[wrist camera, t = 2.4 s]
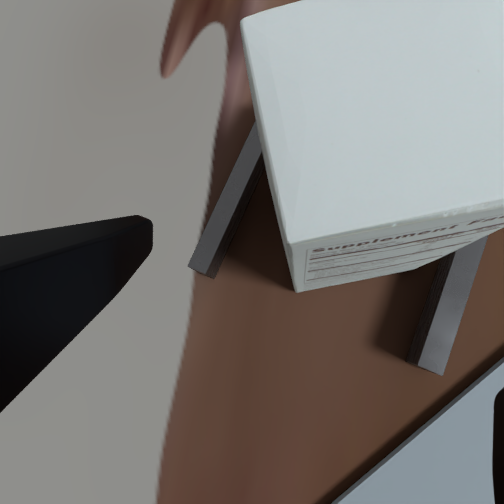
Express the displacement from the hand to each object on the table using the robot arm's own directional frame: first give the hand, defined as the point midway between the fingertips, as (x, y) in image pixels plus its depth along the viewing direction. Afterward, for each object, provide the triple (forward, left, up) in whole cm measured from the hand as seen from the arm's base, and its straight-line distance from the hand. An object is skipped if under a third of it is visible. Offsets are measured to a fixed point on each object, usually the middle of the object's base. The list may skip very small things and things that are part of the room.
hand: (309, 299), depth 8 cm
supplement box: (+5, +3, -12) cm, 14 cm away
